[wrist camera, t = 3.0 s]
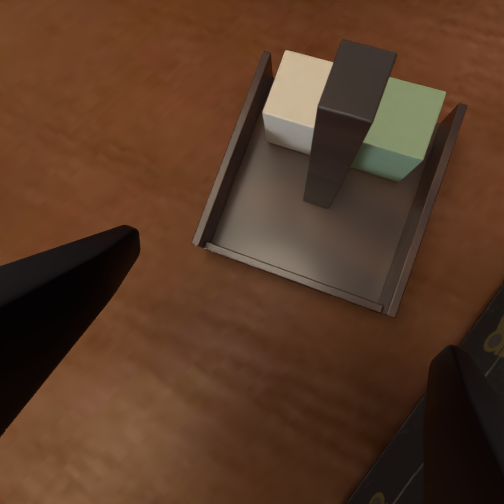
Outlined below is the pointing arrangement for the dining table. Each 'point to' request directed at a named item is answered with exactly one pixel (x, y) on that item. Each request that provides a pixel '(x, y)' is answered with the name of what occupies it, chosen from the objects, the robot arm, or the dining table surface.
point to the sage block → (400, 130)
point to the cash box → (411, 432)
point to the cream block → (295, 101)
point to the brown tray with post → (326, 191)
